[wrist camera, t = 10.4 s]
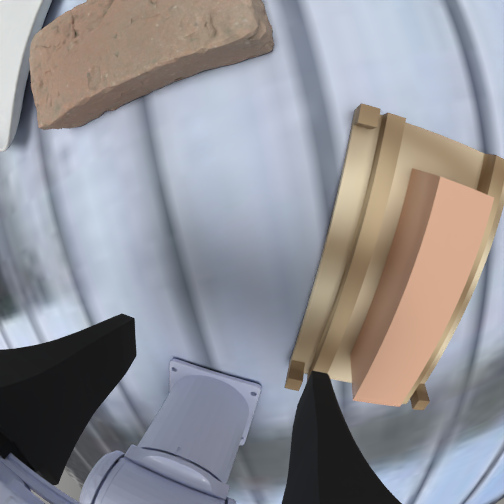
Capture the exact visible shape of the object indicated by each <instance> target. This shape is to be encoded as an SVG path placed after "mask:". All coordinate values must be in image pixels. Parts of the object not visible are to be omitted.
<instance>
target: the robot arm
mask: <svg viewBox="0 0 504 504" xmlns="http://www.w3.org/2000/svg"><path fill="white" fill-rule="evenodd" d="M135 357H136V340H135V318H132V317H130V316H127V315H124V314H120V315H117V316H115V317H112V318H110V319H108V320H105V321H103V322H101V323H98V324H96V325H93V326H91V327H89V328H86V329H84V330H81V331H79V332H76V333H73V334H71V335H68V336H65V337H62V338H60V339H57V340H53V341H50V342H46V343H42V344H38V345H34V346H28V347H22V348H16V349H6V350H0V504H45V503H44V502H43V501H41V500H40V499H39V498H38V497H36V496H35V495H34V494H33V493H32V492H31V490H30V489H32V490H33V491H34V492H36V493H37V494H38V495H39V496H41V497H42V498H43V499H45V500H46V501H48V502H49V503H50V504H236V501H235V500H234V499H231V498H228V497H227V495H228V492H229V489H230V486H229V485H227V484H226V483H227V480H228V477H229V474H230V472H231V469H232V466H233V463H234V460H235V457H236V453H237V450H238V447H239V445H244V444H245V441H246V438H247V434H248V431H249V428H250V425H251V422H252V418H253V415H254V412H255V409H256V405H257V402H258V399H259V395H260V392H261V386H260V385H259V384H257V383H253V382H250V381H246V380H242V379H239V378H235V377H232V376H228V375H225V374H221V373H218V372H215V371H212V370H208V369H205V368H202V367H199V366H196V365H193V364H190V363H187V362H184V361H181V360H178V359H172V360H171V361H170V363H169V395H168V397H167V398H166V400H165V402H164V403H163V405H162V406H161V408H160V410H159V411H158V413H157V415H156V416H155V418H154V420H153V421H152V423H151V425H150V426H149V428H148V429H147V431H146V433H145V434H144V436H143V438H142V439H141V441H140V443H139V444H138V446H135V445H133V444H132V445H131V446H130V447H129V449H128V450H127V452H126V454H125V453H123V452H121V451H118V450H117V451H114V452H112V453H108V454H106V455H104V456H103V457H102V458H101V459H100V460H99V461H98V462H97V463H96V465H95V466H94V467H93V469H92V470H91V472H90V474H89V475H88V477H87V479H86V481H85V483H84V485H83V488H82V491H81V494H80V503H79V502H78V501H76V500H75V499H73V498H71V497H70V496H68V495H67V494H65V493H63V492H62V491H61V490H59V489H57V488H56V487H55V486H53V485H57V484H58V483H59V481H60V478H61V475H62V473H63V470H64V468H65V466H66V463H67V461H68V459H69V457H70V455H71V453H72V451H73V449H74V447H75V445H76V443H77V441H78V439H79V437H80V436H81V434H82V432H83V430H84V429H85V427H86V425H87V424H88V422H89V420H90V419H91V417H92V415H93V414H94V413H95V411H96V410H97V409H98V407H99V406H100V405H101V404H102V402H103V401H104V400H105V399H106V397H107V396H108V395H109V394H110V393H111V391H112V390H113V389H114V388H115V386H116V385H117V384H118V383H119V381H120V380H121V379H122V378H123V376H124V375H125V374H126V372H127V371H128V369H129V367H130V366H131V364H132V362H133V361H134V359H135ZM174 367H175V368H176V369H175V368H174ZM253 392H255V393H253ZM282 504H402V503H401V502H399V501H398V500H397V499H396V498H395V497H394V496H393V495H392V493H391V492H390V491H389V490H388V489H387V488H386V487H385V486H384V484H383V483H382V482H381V481H380V479H379V478H378V477H377V475H376V474H375V473H374V471H373V470H372V469H371V467H370V466H369V464H368V463H367V461H366V460H365V458H364V457H363V455H362V453H361V452H360V450H359V448H358V446H357V445H356V443H355V441H354V439H353V437H352V435H351V433H350V431H349V429H348V426H347V424H346V422H345V419H344V417H343V415H342V412H341V410H340V407H339V404H338V402H337V399H336V396H335V393H334V390H333V387H332V384H331V380H330V377H329V375H328V374H327V373H323V372H318V371H313V370H312V372H311V374H310V377H309V379H308V382H307V384H306V386H305V389H304V391H303V394H302V396H301V398H300V401H299V403H298V406H297V410H296V415H295V420H294V425H293V432H292V442H291V452H290V462H289V471H288V478H287V484H286V488H285V492H284V497H283V501H282Z"/></svg>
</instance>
